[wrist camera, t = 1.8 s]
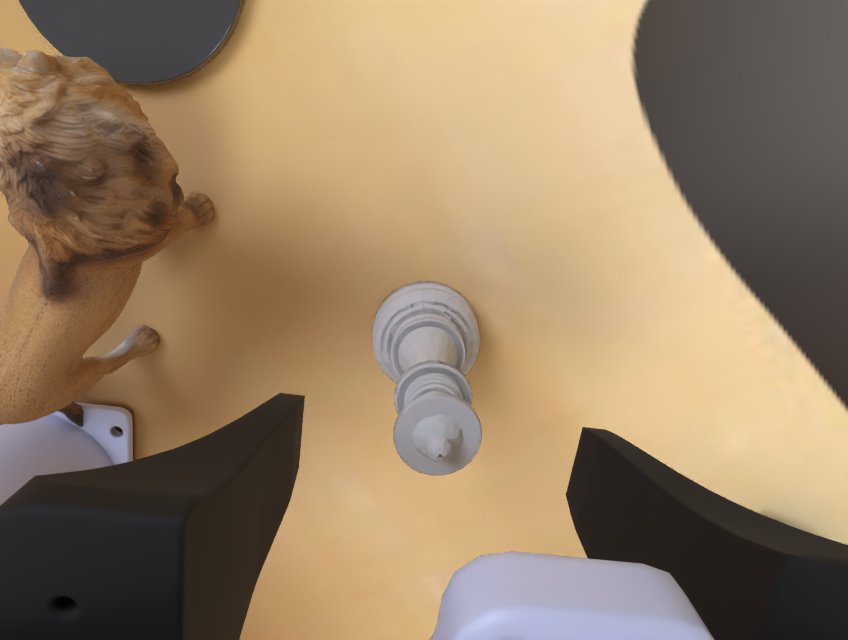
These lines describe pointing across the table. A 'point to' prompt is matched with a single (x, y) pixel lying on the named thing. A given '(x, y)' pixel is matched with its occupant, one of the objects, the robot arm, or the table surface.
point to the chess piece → (430, 374)
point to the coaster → (138, 34)
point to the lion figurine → (77, 225)
